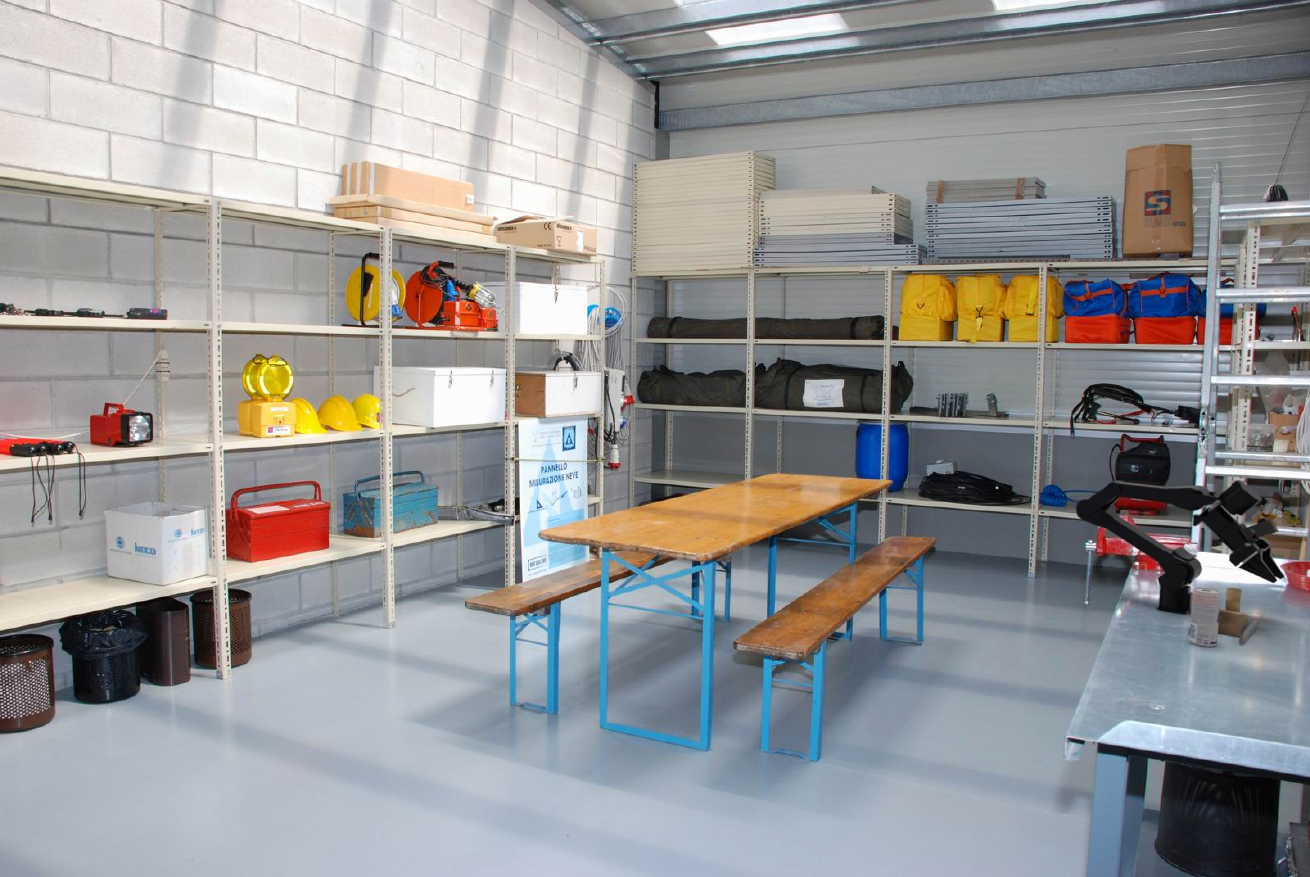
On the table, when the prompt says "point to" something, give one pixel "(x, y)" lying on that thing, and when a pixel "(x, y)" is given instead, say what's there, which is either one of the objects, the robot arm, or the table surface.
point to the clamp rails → (1246, 633)
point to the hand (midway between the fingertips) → (1279, 579)
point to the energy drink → (1205, 617)
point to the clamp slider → (1232, 614)
